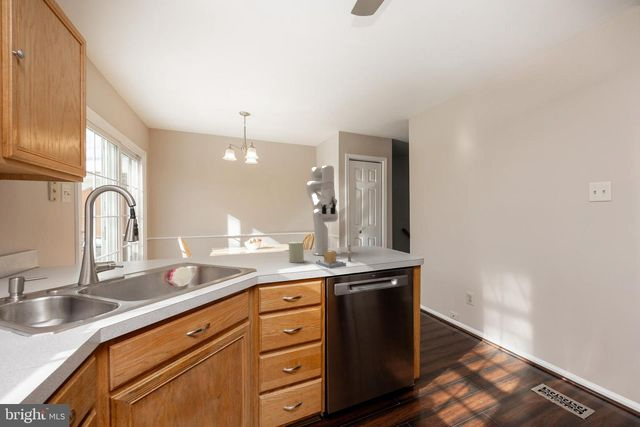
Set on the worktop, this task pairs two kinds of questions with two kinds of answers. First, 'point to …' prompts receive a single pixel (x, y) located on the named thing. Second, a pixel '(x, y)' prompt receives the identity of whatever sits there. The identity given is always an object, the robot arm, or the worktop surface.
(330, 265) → the shaft stand
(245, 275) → the worktop surface
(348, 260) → the pipe connector
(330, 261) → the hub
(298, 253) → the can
